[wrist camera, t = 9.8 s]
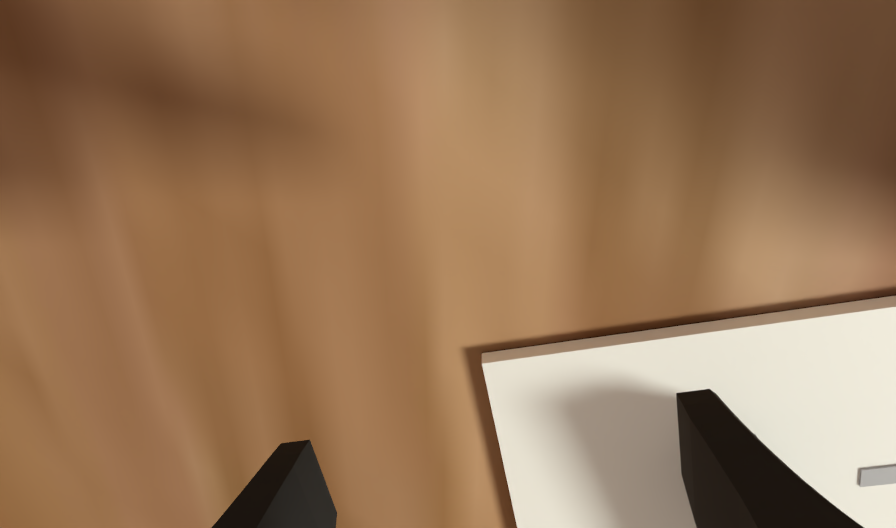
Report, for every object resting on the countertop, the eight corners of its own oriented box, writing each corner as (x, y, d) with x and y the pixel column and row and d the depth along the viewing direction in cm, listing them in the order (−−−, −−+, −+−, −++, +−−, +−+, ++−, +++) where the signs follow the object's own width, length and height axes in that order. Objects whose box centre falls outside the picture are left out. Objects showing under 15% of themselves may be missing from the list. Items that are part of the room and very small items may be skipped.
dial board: (990, 282, 22) (1005, 293, 21) (939, 585, 28) (949, 600, 28) (481, 353, 24) (481, 365, 24) (539, 620, 30) (540, 635, 30)
